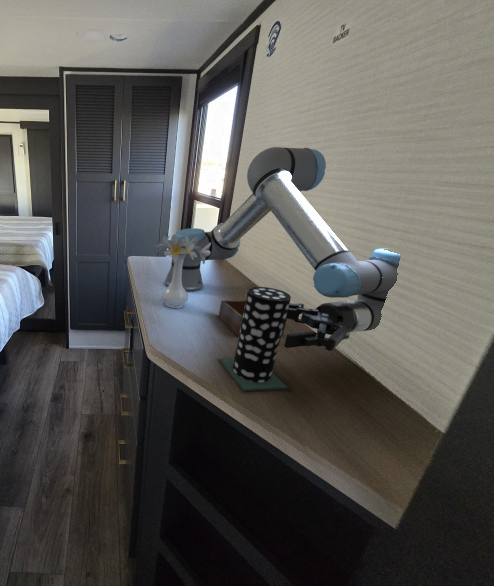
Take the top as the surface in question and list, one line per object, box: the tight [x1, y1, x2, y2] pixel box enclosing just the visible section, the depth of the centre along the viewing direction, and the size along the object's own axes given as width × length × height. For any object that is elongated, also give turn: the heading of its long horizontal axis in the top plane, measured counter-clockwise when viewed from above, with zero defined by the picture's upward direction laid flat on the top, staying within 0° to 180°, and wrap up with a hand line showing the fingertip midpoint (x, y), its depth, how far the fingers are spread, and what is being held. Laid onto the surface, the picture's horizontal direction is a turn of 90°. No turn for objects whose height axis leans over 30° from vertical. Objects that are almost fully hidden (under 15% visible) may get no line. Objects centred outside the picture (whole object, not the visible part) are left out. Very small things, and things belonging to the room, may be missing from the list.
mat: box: [219, 357, 288, 392], centre depth 74 cm, size 12×10×1 cm
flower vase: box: [154, 234, 211, 309], centre depth 108 cm, size 13×18×25 cm
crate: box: [218, 299, 288, 337], centre depth 97 cm, size 14×14×6 cm
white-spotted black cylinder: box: [233, 286, 292, 382], centre depth 71 cm, size 8×8×20 cm
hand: (263, 326), depth 69 cm, fingers open, 13 cm apart
